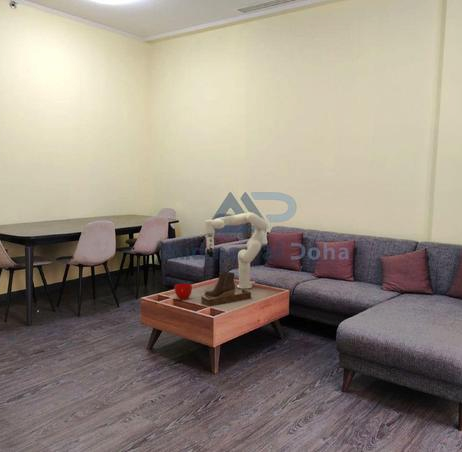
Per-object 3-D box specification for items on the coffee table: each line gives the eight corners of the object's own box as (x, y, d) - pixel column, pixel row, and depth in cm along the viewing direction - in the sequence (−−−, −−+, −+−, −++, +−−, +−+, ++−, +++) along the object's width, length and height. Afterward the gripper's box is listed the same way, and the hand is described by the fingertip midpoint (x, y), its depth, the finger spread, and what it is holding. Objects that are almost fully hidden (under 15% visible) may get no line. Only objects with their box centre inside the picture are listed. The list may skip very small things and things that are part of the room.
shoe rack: (243, 295, 353) (243, 289, 353) (251, 298, 344) (251, 292, 344) (201, 302, 333) (201, 296, 333) (208, 306, 324) (208, 299, 324)
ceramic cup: (173, 302, 335) (173, 289, 334) (175, 296, 351) (175, 283, 350) (191, 302, 336) (191, 288, 335) (192, 295, 352) (192, 283, 351)
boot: (205, 295, 353) (205, 270, 351) (236, 296, 350) (236, 270, 348) (203, 298, 344) (202, 272, 342) (234, 299, 342) (234, 273, 340)
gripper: (216, 236, 358) (216, 257, 359) (212, 233, 374) (212, 254, 376) (206, 236, 356) (207, 258, 358) (203, 233, 372) (203, 254, 374)
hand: (210, 256), depth 367 cm, fingers open, 9 cm apart
